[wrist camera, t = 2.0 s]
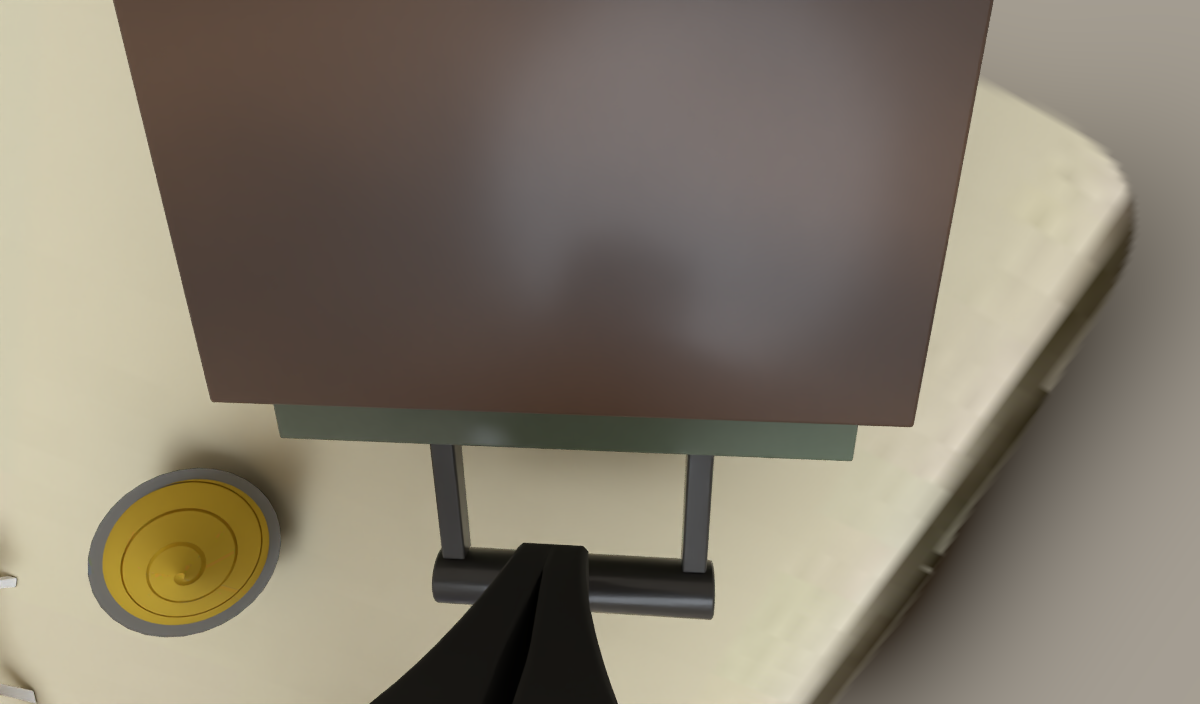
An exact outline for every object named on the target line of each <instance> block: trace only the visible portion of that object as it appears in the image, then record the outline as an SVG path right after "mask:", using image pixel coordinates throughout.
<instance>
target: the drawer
mask: <svg viewBox="0 0 1200 704" xmlns="http://www.w3.org/2000/svg"><path fill="white" fill-rule="evenodd" d="M274 409H275V414H276V419H277V423H278V428H279V433H280V437H281V438H295V439H320V440H345V441H369V442H394V443H418V444H430V449H431V457H432V466H433V475H434V484H435V493H436V502H437V510H438V519H439V528H440V537H441V546H442V548H441V549H440V551H439V553H438V555H437V558H436V561H435V565H434V569H433V576H432V592H433V597H434V599H435V601H436V602H438V603H452V604H468V605H473V604H474V603H475V602H476V601H477V599H478V598H479V597H480V596H481V595H482V593H483V592H484V591H485V590H486V589H487V588H488V586H489V585H490V584H491V583H492V581H493V580H494V579H495V578H496V576H497V575H498V574H499V572H500V571H501V570H502V569H503V567H504V566H505V565H506V563H507V562H508V561H509V559H510V558H511V557H512V555H513V554H514V552H515V551H516V550H514V549H496V548H478V547H470V546H471V542H470V531H469V520H468V510H467V499H466V488H465V478H464V467H463V456H462V446H461V445H467V446H492V447H516V448H541V449H566V450H590V451H615V452H639V453H664V454H686V467H685V488H684V509H683V530H682V550H681V559H678V558H660V557H641V556H623V555H605V554H588V562H589V605H590V610H591V612H595V613H610V614H626V615H642V616H658V617H674V618H690V619H705V620H711V619H712V618H713V615H714V604H715V579H714V567H713V563H712V561H710V560H707V555H708V540H709V525H710V510H711V494H712V479H713V464H714V456H738V457H762V458H787V459H811V460H836V461H852V460H853V454H854V448H855V441H856V435H857V428H858V425H839V424H811V423H784V422H756V421H728V420H700V419H672V418H644V417H616V416H588V415H560V414H533V413H505V412H477V411H449V410H421V409H393V408H365V407H337V406H309V405H282V404H274Z"/></svg>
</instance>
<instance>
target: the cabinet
mask: <svg viewBox="0 0 1200 704" xmlns="http://www.w3.org/2000/svg"><path fill="white" fill-rule="evenodd" d="M113 2H114V6H115V10H116V14H117V18H118V22H119V27H120V31H121V35H122V39H123V43H124V47H125V51H126V55H127V59H128V63H129V67H130V72H131V76H132V80H133V84H134V88H135V92H136V96H137V100H138V104H139V108H140V113H141V117H142V121H143V125H144V129H145V133H146V137H147V141H148V145H149V149H150V153H151V158H152V162H153V166H154V170H155V174H156V178H157V182H158V186H159V190H160V194H161V198H162V203H163V207H164V211H165V215H166V219H167V223H168V227H169V231H170V235H171V239H172V244H173V248H174V252H175V256H176V260H177V264H178V268H179V272H180V276H181V280H182V284H183V289H184V293H185V297H186V301H187V305H188V309H189V313H190V317H191V321H192V325H193V329H194V334H195V338H196V342H197V346H198V350H199V354H200V358H201V362H202V366H203V370H204V375H205V379H206V383H207V387H208V391H209V395H210V399H211V401H212V402H226V403H254V404H282V405H309V406H337V407H365V408H393V409H421V410H449V411H477V412H505V413H533V414H560V415H588V416H616V417H644V418H672V419H700V420H728V421H756V422H784V423H811V424H839V425H867V426H895V427H912V426H913V425H914V420H915V414H916V409H917V404H918V398H919V393H920V388H921V382H922V377H923V372H924V367H925V361H926V356H927V351H928V345H929V340H930V335H931V329H932V324H933V319H934V313H935V308H936V303H937V298H938V292H939V287H940V282H941V276H942V271H943V266H944V260H945V255H946V250H947V244H948V239H949V234H950V229H951V223H952V218H953V213H954V207H955V202H956V197H957V191H958V186H959V181H960V175H961V170H962V165H963V159H964V154H965V149H966V144H967V138H968V133H969V128H970V122H971V117H972V112H973V106H974V101H975V96H976V90H977V85H978V80H979V75H980V69H981V64H982V59H983V53H984V47H985V43H986V37H987V32H988V27H989V21H990V16H991V11H992V5H993V0H113Z"/></svg>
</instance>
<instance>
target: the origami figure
mask: <svg viewBox="0 0 1200 704" xmlns="http://www.w3.org/2000/svg"><path fill="white" fill-rule="evenodd" d="M16 579H17V578H15V577H11V576H4V577H0V589H1V588H9V587H16ZM0 695H4V696H8V697H12V698H16V699H20V700H24V701H27V702H31V703H35V704H36V700H35V696H34V692H33V691H31V690H28V689H25V688H20V687H15V686H10V685H5V684H0Z"/></svg>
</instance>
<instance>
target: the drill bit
mask: <svg viewBox="0 0 1200 704" xmlns="http://www.w3.org/2000/svg"><path fill="white" fill-rule="evenodd" d="M280 546H281V536H280V526H279V522H278V519H277V515H276V513H275V511H274V509H273V507H272V505H271V503H270V501H269V500H268V499H267V498H266V497H265V495H264V494H263V493H262V492H261V491H260V490H259V489H258V488H257V487H255V486H254V485H253V484H251V483H250V482H249V481H247V480H245V479H243V478H241V477H239V476H237V475H234V474H232V473H228V472H224V471H220V470H216V469H203V468H194V469H185V470H177V471H174V472H170V473H167V474H163V475H160V476H157V477H155V478H153V479H151V480H149V481H147V482H144V483H142V484H141V485H139V486H138V487H136V488H135V489H133V490H132V491H130V492H129V493H127V494H126V495H125V496H124V497H123V498H121V499H120V500H119V501H118V502H117V503H116V504H115V505H114V506H113V507H112V508H111V509H110V511H109V512H108V513H107V515H106V516H105V517H104V519H103V520H102V522H101V523H100V525H99V527H98V529H97V531H96V533H95V535H94V537H93V540H92V543H91V547H90V551H89V556H88V577H89V581H90V585H91V588H92V592H93V594H94V596H95V598H96V599H97V601H98V603H99V604H100V606H101V608H102V609H103V610H104V611H105V612H106V613H107V614H108V615H109V616H110V617H111V618H112V619H113V620H115V621H116V622H118V623H120V624H121V625H123V626H125V627H126V628H128V629H130V630H133V631H136V632H139V633H142V634H145V635H151V636H159V637H180V636H187V635H192V634H196V633H201V632H204V631H207V630H209V629H212V628H214V627H217V626H219V625H222V624H223V623H225V622H227V621H228V620H230V619H232V618H233V617H235V616H237V615H238V614H239V613H240V612H242V611H243V610H244V609H245V608H246V607H248V606H249V605H250V604H251V603H252V602H253V601H254V600H255V599H256V598H257V596H258V595H259V594H260V593H261V592H262V591H263V589H264V588H265V586H266V584H267V583H268V581H269V579H270V578H271V576H272V574H273V572H274V569H275V566H276V564H277V561H278V558H279V552H280Z"/></svg>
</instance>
